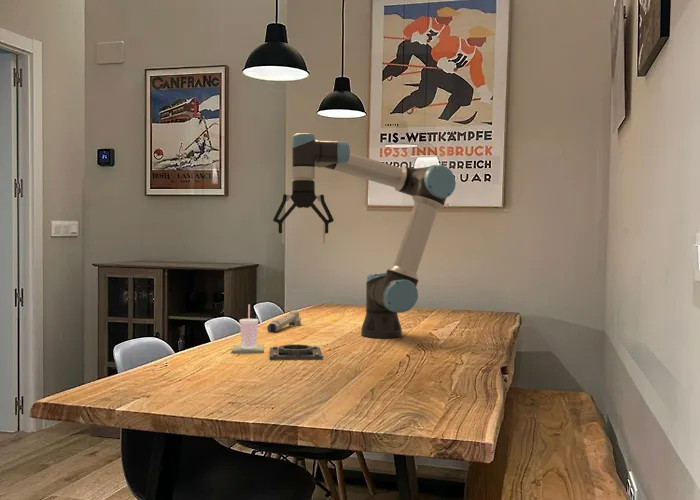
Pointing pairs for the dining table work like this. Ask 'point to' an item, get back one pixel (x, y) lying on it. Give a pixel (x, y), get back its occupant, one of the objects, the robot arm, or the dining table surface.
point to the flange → (295, 352)
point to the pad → (240, 350)
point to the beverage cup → (248, 331)
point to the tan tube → (285, 321)
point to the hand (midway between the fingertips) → (303, 243)
